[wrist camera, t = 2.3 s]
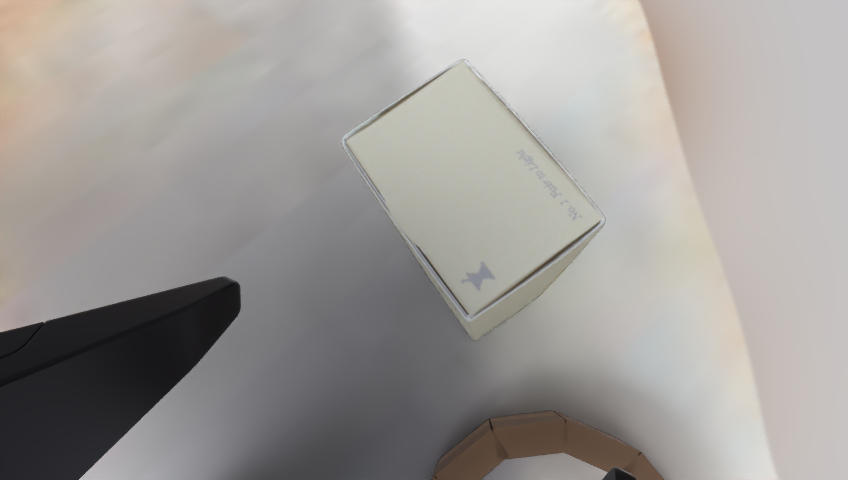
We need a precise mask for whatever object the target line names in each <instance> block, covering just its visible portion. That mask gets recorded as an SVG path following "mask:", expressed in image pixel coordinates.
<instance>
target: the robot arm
mask: <svg viewBox="0 0 848 480" xmlns="http://www.w3.org/2000/svg"><path fill="white" fill-rule="evenodd" d="M240 308H241V297H240V285H239V283H238V282H236V281H234V280H232V279H230V278H228V277H218V278H214V279H210V280H206V281H202V282H198V283H194V284H190V285H186V286H182V287H178V288H174V289H170V290H167V291H163V292H159V293H155V294H151V295H147V296H143V297H139V298H135V299H131V300H127V301H123V302H119V303H116V304H112V305H108V306H104V307H100V308H96V309H92V310H88V311H84V312H80V313H76V314H72V315H68V316H64V317H61V318H57V319H53V320H49V321H46V322H45V323H44V322H41V323H37V324H33V325H29V326H25V327H21V328H17V329H13V330H8V331H4V332H0V480H79V479H80V478H81V477H82V476H83V475H84V474H85V473H86V472H87V471H88V470H89V469H90V468H91V467H92V466H93V465H94V464H95V463H96V462H97V461H98V460H99V459H100V458H101V457H102V456H103V455H104V454H105V453H106V452H107V451H108V450H109V449H111V448H112V447H113V446H114V445H115V444H116V443H117V442H118V441H119V440H120V439H121V438H122V437H123V436H124V435H125V434H126V433H127V432H128V431H129V430H130V429H131V428H132V427H133V426H134V425H135V424H136V423H137V422H138V421H139V420H140V419H141V418H142V417H143V416H144V415H145V414H146V413H148V412H149V411H150V410H151V409H152V408H153V407H154V406H155V405H156V404H157V403H158V402H159V401H160V400H161V399H162V398H163V397H164V396H165V395H166V394H167V393H168V392H169V391H170V390H171V389H172V388H173V387H174V386H175V385H176V384H177V383H178V382H179V381H180V380H181V379H182V378H183V377H184V376H186V375H187V374H188V373H189V372H190V371H191V370H192V368H193V367H194V366H195V365H196V364H197V363H198V362H199V361H200V360H201V359H202V358H203V356H204V355H205V354H206V353H207V352H208V350H209V349H210V348H211V347H212V346H213V345H214V343H215V342H216V341H217V340H218V339H219V337H220V336H221V335H222V334H223V333H224V332H225V330H226V329H227V328H228V327H229V326H230V324H231V323H232V322H233V321H234V320H235V318H236V317H237V316H238V314H239V312H240ZM602 480H638V479H637V478H636V477H635V476H634V475H633V474H631V473H629V472H627V471H625V470H623V469H621V468H619V467H613V468H612V469H611V470H610V471H609V472H608V473H607V475H606V476H605V477H604V478H603V479H602Z"/></svg>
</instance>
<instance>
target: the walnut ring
mask: <svg viewBox="0 0 848 480" xmlns="http://www.w3.org/2000/svg"><path fill="white" fill-rule="evenodd" d="M563 452H564V453H566V454H569V455H571V456H573V457H575V458H578V459H580V460H582V461H584V462H587V463H589V464H591V465H593V466H595V467H598V468H600V469H602V470H604V471H607V472H609V471H610V470H611V469H612V468H613V467H619V468H621V469H623V470H625V471H627V472H629V473H631V474H633V475H634V476H635V477H636V478H637V479H638V480H664V479H663V478H662V477H661V476H660V474H659V473H658V472H657V471H656V470H655V468H654V467H653V466H652V465H651V464H650V462H649V461H648V460H647V459H646V458H645V456H644V455H643V454H642V453H641V452H639V451H638V450H636V449H635V448H633V447H631V446H629V445H628V444H626V443H624V442H622V441H621V440H619V439H617V438H615V437H613V436H611V435H608V434H606V433H604V432H601V431H599V430H597V429H594V428H592V427H590V426H588V425H585V424H583V423H581V422H578V421H576V420H574V419H571V418H569V417H567V416H564V415H562V414H560V413H557V412H555V411H544V412H536V413H528V414H520V415H512V416H504V417H496V418H490V421H489V420H488V419H487V420H486V421H485V422H484V423H483V424H481V425H480V426H479V427H478V428H477V429H475V430H474V431H473V432H472V433H470V434H469V435H468V436H467V437H466V438H464V439H463V440H462V441H461V442H459V443H458V444H457V445H456V446H455V447H453V448H452V449H451V450H450V451H448V452H447V453H446V454H445V455H444V456H442V457H441V458H440V460H439V461H438V463H437V466H436V469H435V471H434V474H433V477H432V479H431V480H481V479H482V478H483V477H484V476H486V475H487V474H488V473H489V472H490V471H492V470H493V469H494V468H495V467H496V466H498V465H499V464H500V463H501V462H502V461H504V460H505V459H513V458H521V457H530V456H538V455H547V454H555V453H563Z"/></svg>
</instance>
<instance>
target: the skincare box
mask: <svg viewBox="0 0 848 480" xmlns="http://www.w3.org/2000/svg"><path fill="white" fill-rule="evenodd" d="M341 144H342V146H343V149H344V150H345V152H346V153H347V155H348V157H349V158H350V160H351V161H352V163H353V164H354V166H355V167H356V169H357V170H358V172H359V173H360V175H361V176H362V178H363V179H364V181H365V183H366V184H367V186H368V187H369V189H370V190H371V192H372V193H373V195H374V196H375V198H376V199H377V201H378V202H379V204H380V205H381V207H382V208H383V210H384V211H385V213H386V214H387V216H388V217H389V219H390V220H391V222H392V223H393V225H394V226H395V228H396V229H397V231H398V232H399V234H400V235H401V237H402V238H403V240H404V241H405V243H406V244H407V246H408V247H409V249H410V250H411V252H412V253H413V255H414V256H415V258H416V259H417V261H418V262H419V264H420V265H421V267H422V268H423V270H424V271H425V273H426V274H427V276H428V277H429V279H430V280H431V282H432V283H433V284H434V286H435V287H436V289H437V290H438V292H439V293H440V295H441V296H442V298H443V299H444V301H445V302H446V303H447V305H448V306H449V308H450V309H451V311H452V312H453V313H454V315H455V316H456V318H457V319H458V320H459V322H460V323H461V325H462V326H463V327H464V329H465V330H466V332H467V333H468V334H469V336H470V337H471V338H472V340H474V341H476V340H478V339H480V338H481V337H483V336H484V335H486V334H487V333H489V332H490V331H492V330H493V329H495V328H496V327H497V326H499V325H500V324H502V323H503V322H505V321H506V320H507V319H509V318H510V317H512V316H513V315H515V314H516V313H517V312H519V311H520V310H521V309H523V308H524V307H525V306H527V305H528V304H529V303H531V302H532V301H533V300H535V299H536V298H537V297H539V296H540V295H541V294H542V293H543V292H544V291H545V290H546V289H547V288H548V287H549V286H550V284H551V283H552V282H553V281H554V280H555V279H556V278H557V277H558V276H559V275H560V274H561V273H562V272H563V271H564V270H565V269H566V267H567V266H568V265H569V264H570V263H571V262H572V261H573V260H574V259H575V258H576V257H577V255H578V254H579V253H580V252H581V251H582V250H583V249H584V248H585V247H586V245H587V244H588V243H589V242H590V241H591V240H592V238H593V237H594V236H595V235H596V234H597V233H598V232H599V230H600V229H601V228H602V227H603V226H604V224H605V217H604V216H603V214H602V213H601V211H600V210H599V209H598V208H597V206H596V205H595V204H594V203H593V201H592V200H591V199H590V198H589V197H588V195H587V194H586V193H585V192H584V190H583V189H582V188H581V187H580V185H579V184H578V183H577V182H576V181H575V179H574V178H573V177H572V176H571V175H570V174H569V173H568V171H567V170H566V169H565V168H564V166H563V165H562V164H561V163H560V162H559V161H558V160H557V159H556V158H555V156H554V155H553V154H552V153H551V152H550V151H549V149H548V148H547V147H546V146H545V145H544V144H543V142H542V141H541V140H540V139H539V138H538V137H537V136H536V135H535V134H534V133H533V132H532V130H531V129H530V128H529V127H528V126H527V125H526V124H525V123H524V121H523V120H522V119H521V118H520V117H519V116H518V115H517V114H516V113H515V112H514V110H513V109H512V108H511V107H510V106H509V105H508V104H507V103H506V102H505V100H504V99H503V98H502V97H501V96H500V95H499V94H498V93H497V92H496V91H495V90H494V89H493V88H492V86H491V85H490V84H489V83H488V82H487V81H486V80H485V79H484V78H483V77H482V75H481V74H480V73H479V72H478V71H477V70H476V69H475V68H474V67H473V66H472V65H471V64H470V63H469V62H468V61H467V60H465V59H461V60H459V61H457V62H456V63H454V64H453V65H451V66H449V67H448V68H446V69H445V70H443V71H442V72H440V73H438V74H437V75H435V76H434V77H432V78H431V79H429V80H427V81H426V82H424V83H423V84H421V85H420V86H418V87H416V88H415V89H413V90H412V91H410V92H409V93H407V94H405V95H404V96H402V97H401V98H400V99H398V100H396V101H395V102H393V103H392V104H390V105H388V106H387V107H385V108H384V109H382V110H381V111H379V112H378V113H376V114H375V115H374V116H372V117H371V118H369V119H368V120H366V121H365V122H363V123H361V124H360V125H358V126H357V127H355V128H354V129H352V130H351V131H350V132H348V133H347V134H345V135H344V136H343V138H342V141H341Z"/></svg>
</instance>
